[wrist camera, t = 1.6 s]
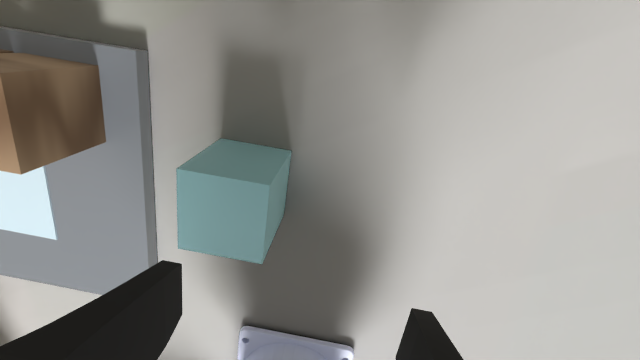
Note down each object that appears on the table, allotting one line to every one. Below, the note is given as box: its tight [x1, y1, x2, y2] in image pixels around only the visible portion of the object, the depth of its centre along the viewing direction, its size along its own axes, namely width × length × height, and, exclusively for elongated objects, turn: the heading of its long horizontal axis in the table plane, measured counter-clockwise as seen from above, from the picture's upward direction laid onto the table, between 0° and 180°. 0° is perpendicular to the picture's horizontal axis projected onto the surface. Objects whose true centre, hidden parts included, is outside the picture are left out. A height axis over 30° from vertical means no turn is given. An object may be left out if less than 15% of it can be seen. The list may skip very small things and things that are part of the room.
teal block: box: [176, 138, 292, 264], centre depth 17 cm, size 4×4×5 cm
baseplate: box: [0, 26, 158, 295], centre depth 20 cm, size 16×14×1 cm
